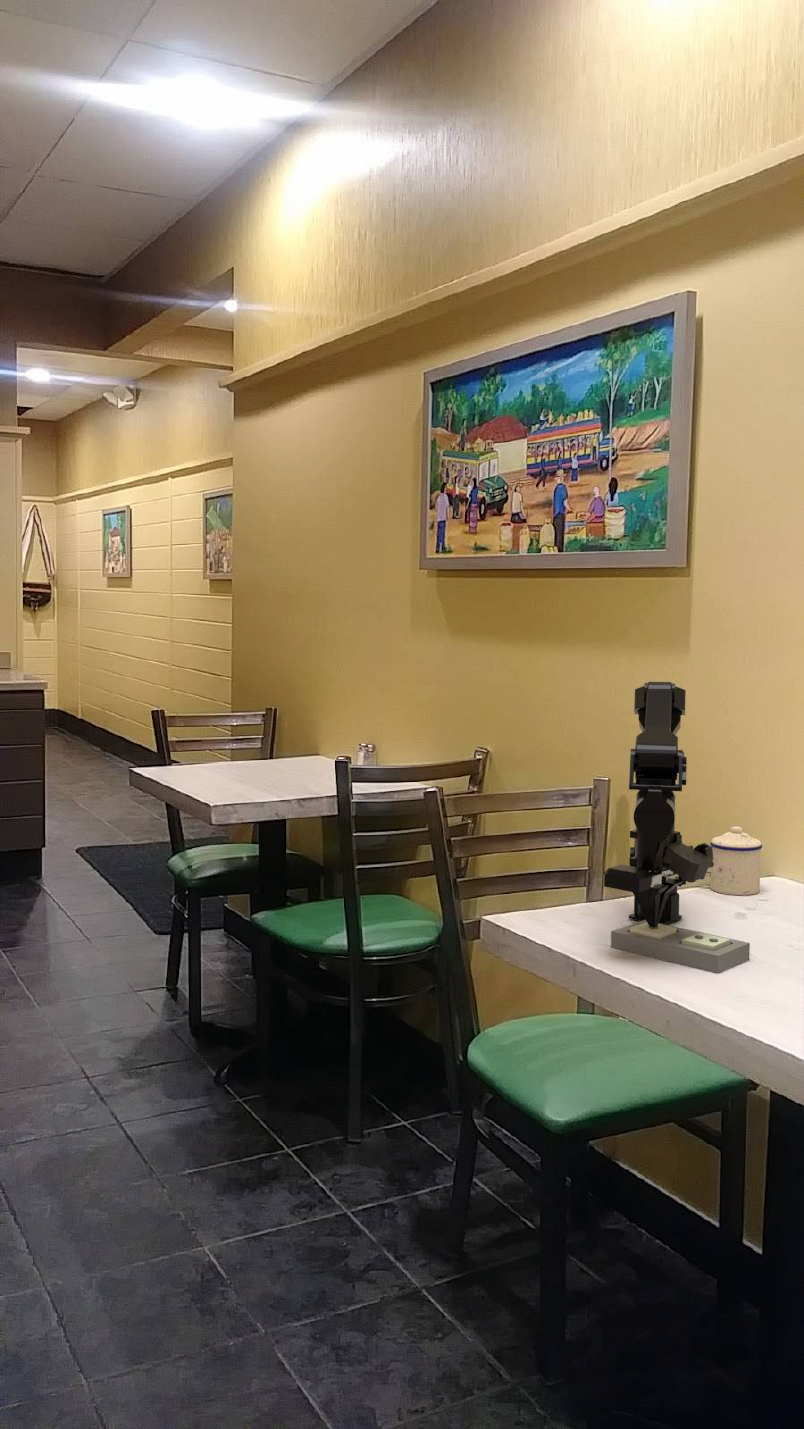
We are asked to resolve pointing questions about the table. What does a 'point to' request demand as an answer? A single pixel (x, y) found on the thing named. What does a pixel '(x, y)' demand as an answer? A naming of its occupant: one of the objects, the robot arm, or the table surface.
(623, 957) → the table surface
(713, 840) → the teacup with lid
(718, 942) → the sage tile two
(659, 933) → the cream tile one
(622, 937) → the panel
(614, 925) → the table surface
